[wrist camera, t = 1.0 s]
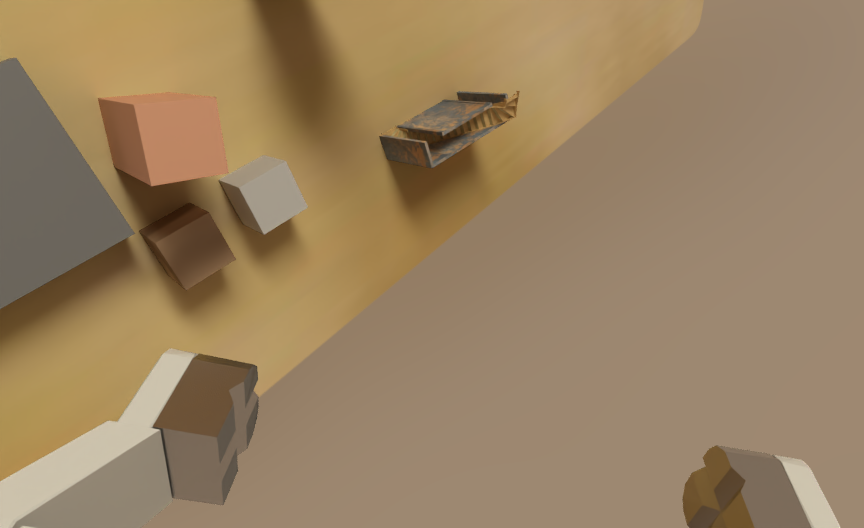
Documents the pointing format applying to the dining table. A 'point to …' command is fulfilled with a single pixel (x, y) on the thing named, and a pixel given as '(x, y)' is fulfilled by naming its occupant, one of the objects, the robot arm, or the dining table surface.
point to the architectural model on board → (448, 128)
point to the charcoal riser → (45, 193)
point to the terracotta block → (164, 136)
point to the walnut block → (188, 245)
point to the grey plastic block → (264, 193)
